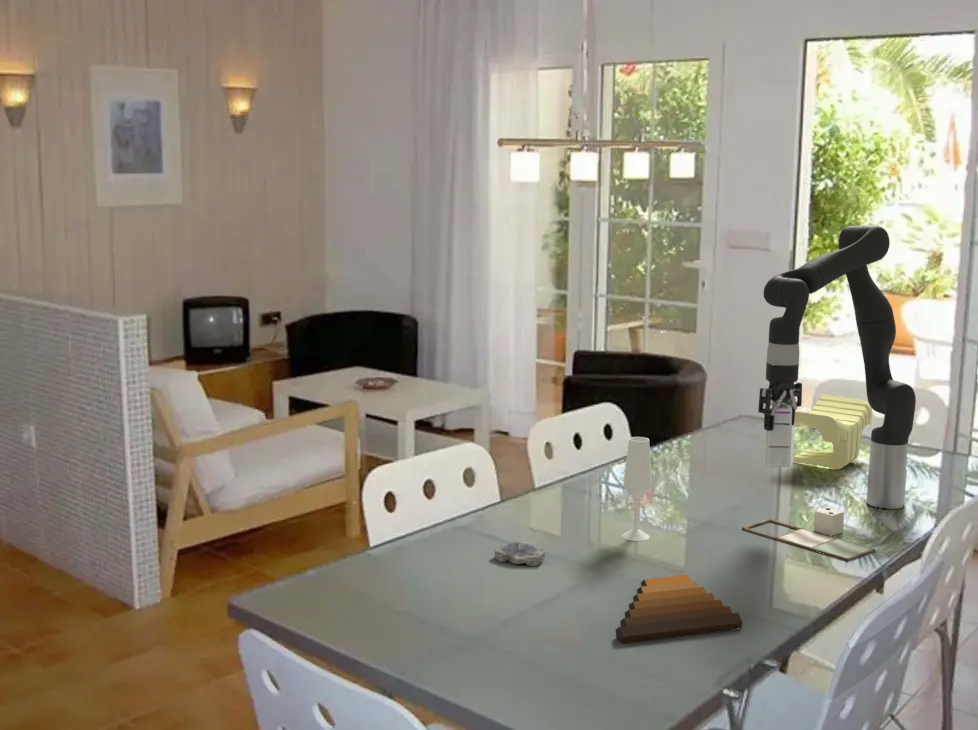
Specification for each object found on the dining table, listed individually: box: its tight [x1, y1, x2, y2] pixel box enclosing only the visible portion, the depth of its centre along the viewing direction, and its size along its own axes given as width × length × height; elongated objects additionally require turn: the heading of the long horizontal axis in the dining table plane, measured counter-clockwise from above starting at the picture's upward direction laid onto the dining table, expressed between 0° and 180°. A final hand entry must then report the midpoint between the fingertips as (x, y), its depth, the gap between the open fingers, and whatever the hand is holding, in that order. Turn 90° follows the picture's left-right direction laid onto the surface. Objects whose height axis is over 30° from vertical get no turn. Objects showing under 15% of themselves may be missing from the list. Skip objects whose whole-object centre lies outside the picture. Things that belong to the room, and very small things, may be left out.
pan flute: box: [615, 574, 743, 644], centre depth 231 cm, size 25×3×25 cm
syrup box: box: [765, 403, 793, 468], centre depth 280 cm, size 6×6×14 cm
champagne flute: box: [621, 436, 653, 542], centre depth 276 cm, size 7×7×24 cm
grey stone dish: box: [494, 541, 546, 567], centre depth 262 cm, size 11×4×10 cm
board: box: [741, 518, 876, 562], centre depth 277 cm, size 11×29×1 cm, turn 41°
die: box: [813, 506, 845, 537], centre depth 283 cm, size 5×5×5 cm
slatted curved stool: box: [792, 393, 873, 471], centre depth 346 cm, size 30×16×18 cm, turn 144°
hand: (779, 427), depth 279 cm, fingers closed on syrup box, 8 cm apart
